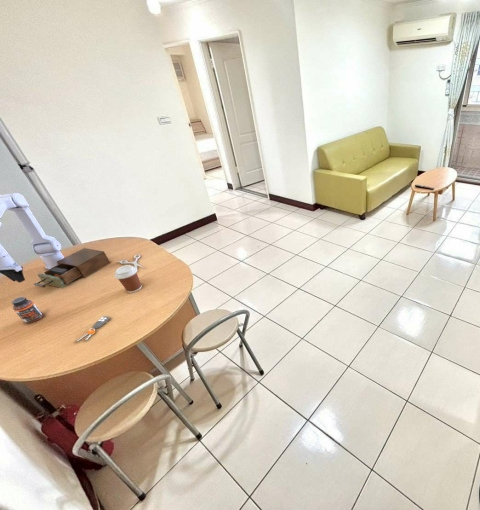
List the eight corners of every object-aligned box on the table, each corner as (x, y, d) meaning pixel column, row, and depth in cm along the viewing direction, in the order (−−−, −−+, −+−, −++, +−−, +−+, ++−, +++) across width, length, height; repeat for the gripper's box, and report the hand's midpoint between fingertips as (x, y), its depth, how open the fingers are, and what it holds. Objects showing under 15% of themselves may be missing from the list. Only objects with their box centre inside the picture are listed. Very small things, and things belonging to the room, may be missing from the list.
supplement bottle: (27, 325, 117) (10, 306, 111) (23, 320, 120) (5, 301, 114) (45, 317, 121) (29, 298, 115) (40, 312, 124) (25, 293, 118)
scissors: (137, 253, 164) (151, 264, 153) (138, 254, 164) (152, 266, 154) (117, 261, 157) (130, 273, 146) (117, 262, 157) (131, 275, 147)
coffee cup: (119, 291, 136) (108, 271, 129) (137, 280, 143) (127, 262, 136) (131, 296, 133) (119, 276, 126) (148, 285, 140) (139, 266, 133)
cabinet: (84, 277, 145) (77, 265, 141) (64, 273, 148) (56, 261, 144) (110, 262, 157) (103, 251, 153) (91, 259, 160) (84, 247, 156)
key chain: (103, 318, 121) (101, 315, 120) (110, 318, 121) (109, 316, 120) (76, 341, 110) (74, 339, 109) (85, 342, 110) (83, 340, 109)
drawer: (52, 294, 133) (45, 284, 130) (32, 289, 136) (25, 280, 133) (90, 272, 148) (84, 263, 144) (71, 268, 151) (65, 259, 147)
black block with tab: (55, 277, 142) (50, 270, 139) (61, 274, 144) (55, 267, 141) (68, 280, 140) (63, 272, 137) (73, 277, 142) (68, 269, 140)
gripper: (-25, 259, 118) (-3, 283, 125) (-1, 263, 114) (20, 288, 122) (-4, 250, 123) (16, 274, 131) (19, 255, 120) (38, 279, 128)
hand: (19, 280), depth 127 cm, fingers open, 3 cm apart
